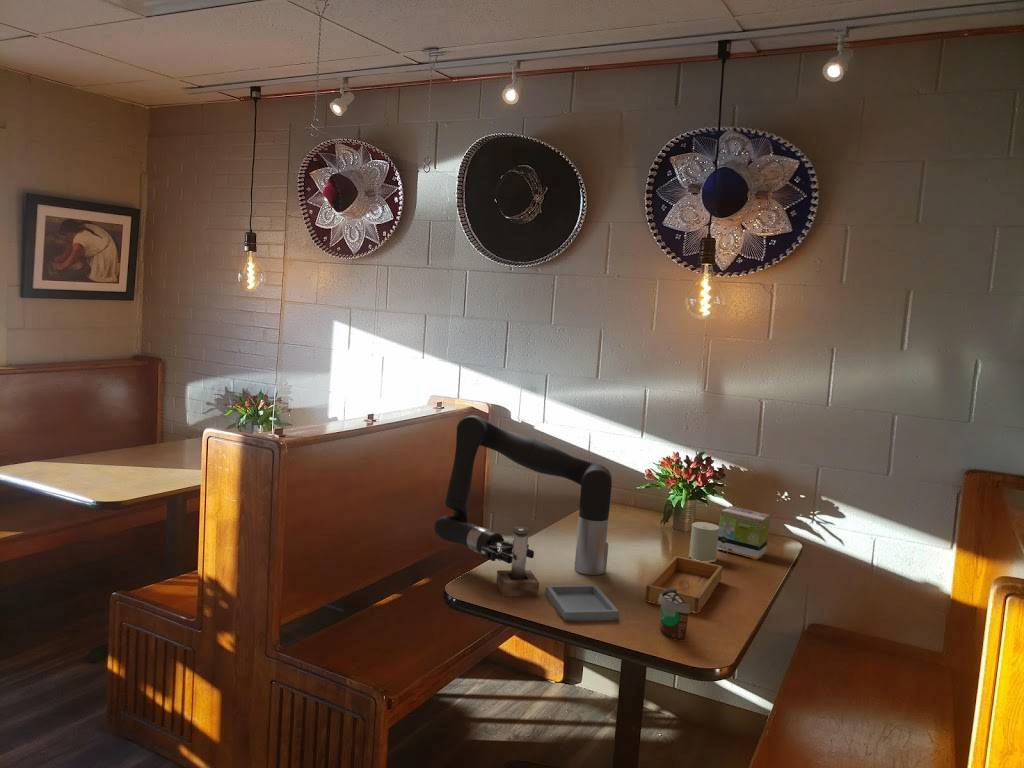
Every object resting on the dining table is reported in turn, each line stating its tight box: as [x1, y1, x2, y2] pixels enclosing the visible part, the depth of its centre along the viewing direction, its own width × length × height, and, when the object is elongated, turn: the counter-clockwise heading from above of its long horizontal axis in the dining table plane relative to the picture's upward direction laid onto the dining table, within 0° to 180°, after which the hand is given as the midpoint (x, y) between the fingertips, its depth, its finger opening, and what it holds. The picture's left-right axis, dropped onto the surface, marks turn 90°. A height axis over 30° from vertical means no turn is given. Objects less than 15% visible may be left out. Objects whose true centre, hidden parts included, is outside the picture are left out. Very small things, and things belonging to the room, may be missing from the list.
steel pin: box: [510, 526, 531, 580], centre depth 226 cm, size 5×5×18 cm
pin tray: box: [544, 584, 620, 623], centre depth 218 cm, size 15×19×2 cm
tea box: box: [717, 505, 771, 557], centre depth 277 cm, size 15×10×15 cm
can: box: [688, 521, 719, 561], centre depth 267 cm, size 9×9×12 cm
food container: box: [658, 588, 690, 642], centre depth 205 cm, size 12×6×10 cm, turn 5°
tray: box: [644, 555, 723, 612], centre depth 236 cm, size 31×15×6 cm, turn 153°
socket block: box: [496, 569, 540, 598], centre depth 227 cm, size 10×10×4 cm
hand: (522, 557), depth 225 cm, fingers open, 8 cm apart
